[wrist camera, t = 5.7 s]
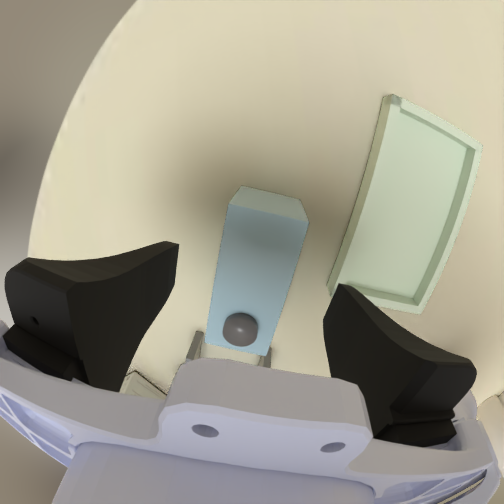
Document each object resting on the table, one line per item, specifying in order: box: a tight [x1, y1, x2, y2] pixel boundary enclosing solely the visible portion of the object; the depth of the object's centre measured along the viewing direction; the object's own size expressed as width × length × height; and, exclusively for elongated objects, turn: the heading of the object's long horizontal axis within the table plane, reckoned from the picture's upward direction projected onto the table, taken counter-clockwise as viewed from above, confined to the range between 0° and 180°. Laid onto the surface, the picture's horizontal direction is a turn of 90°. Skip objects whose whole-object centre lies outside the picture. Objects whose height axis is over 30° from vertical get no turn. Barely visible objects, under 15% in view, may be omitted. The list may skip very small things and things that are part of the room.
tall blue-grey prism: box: [204, 186, 309, 356], centre depth 17 cm, size 4×9×6 cm, turn 168°
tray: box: [327, 94, 483, 315], centre depth 17 cm, size 8×14×2 cm, turn 167°
